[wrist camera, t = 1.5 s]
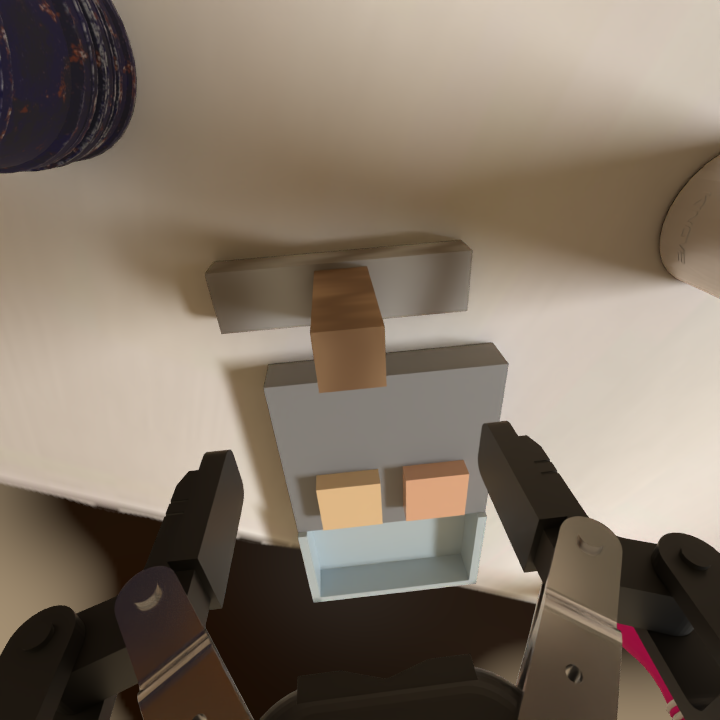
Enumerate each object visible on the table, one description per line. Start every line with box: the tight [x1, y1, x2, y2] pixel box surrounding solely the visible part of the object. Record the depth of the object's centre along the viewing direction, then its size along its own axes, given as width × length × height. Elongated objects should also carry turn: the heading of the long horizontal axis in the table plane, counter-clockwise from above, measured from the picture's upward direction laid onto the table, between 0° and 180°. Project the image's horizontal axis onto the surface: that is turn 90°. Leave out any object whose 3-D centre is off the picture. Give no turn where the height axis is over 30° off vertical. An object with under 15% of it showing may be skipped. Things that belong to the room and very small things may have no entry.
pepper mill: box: [617, 623, 685, 720], centre depth 42 cm, size 7×7×20 cm
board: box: [264, 343, 508, 533], centre depth 33 cm, size 17×16×3 cm
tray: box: [298, 512, 487, 602], centre depth 40 cm, size 17×11×4 cm, turn 94°
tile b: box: [316, 469, 383, 531], centre depth 32 cm, size 5×5×2 cm
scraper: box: [205, 240, 472, 393], centre depth 22 cm, size 16×4×10 cm, turn 94°
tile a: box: [403, 460, 469, 521], centre depth 33 cm, size 5×5×2 cm
